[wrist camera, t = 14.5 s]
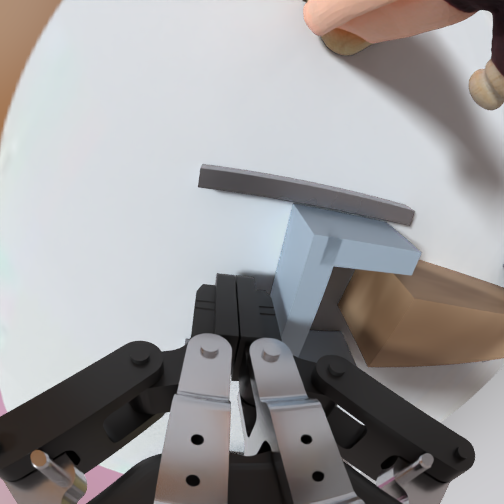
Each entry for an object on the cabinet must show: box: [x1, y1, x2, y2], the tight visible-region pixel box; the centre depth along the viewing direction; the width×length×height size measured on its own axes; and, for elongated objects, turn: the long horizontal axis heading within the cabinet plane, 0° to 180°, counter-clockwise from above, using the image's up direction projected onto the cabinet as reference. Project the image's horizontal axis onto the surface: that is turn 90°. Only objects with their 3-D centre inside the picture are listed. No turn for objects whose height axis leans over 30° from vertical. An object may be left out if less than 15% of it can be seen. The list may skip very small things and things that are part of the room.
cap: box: [270, 204, 422, 367], centre depth 12 cm, size 8×4×3 cm, turn 170°
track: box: [185, 164, 415, 345], centre depth 13 cm, size 10×9×1 cm
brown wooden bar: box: [338, 260, 504, 367], centre depth 13 cm, size 4×16×4 cm, turn 74°
